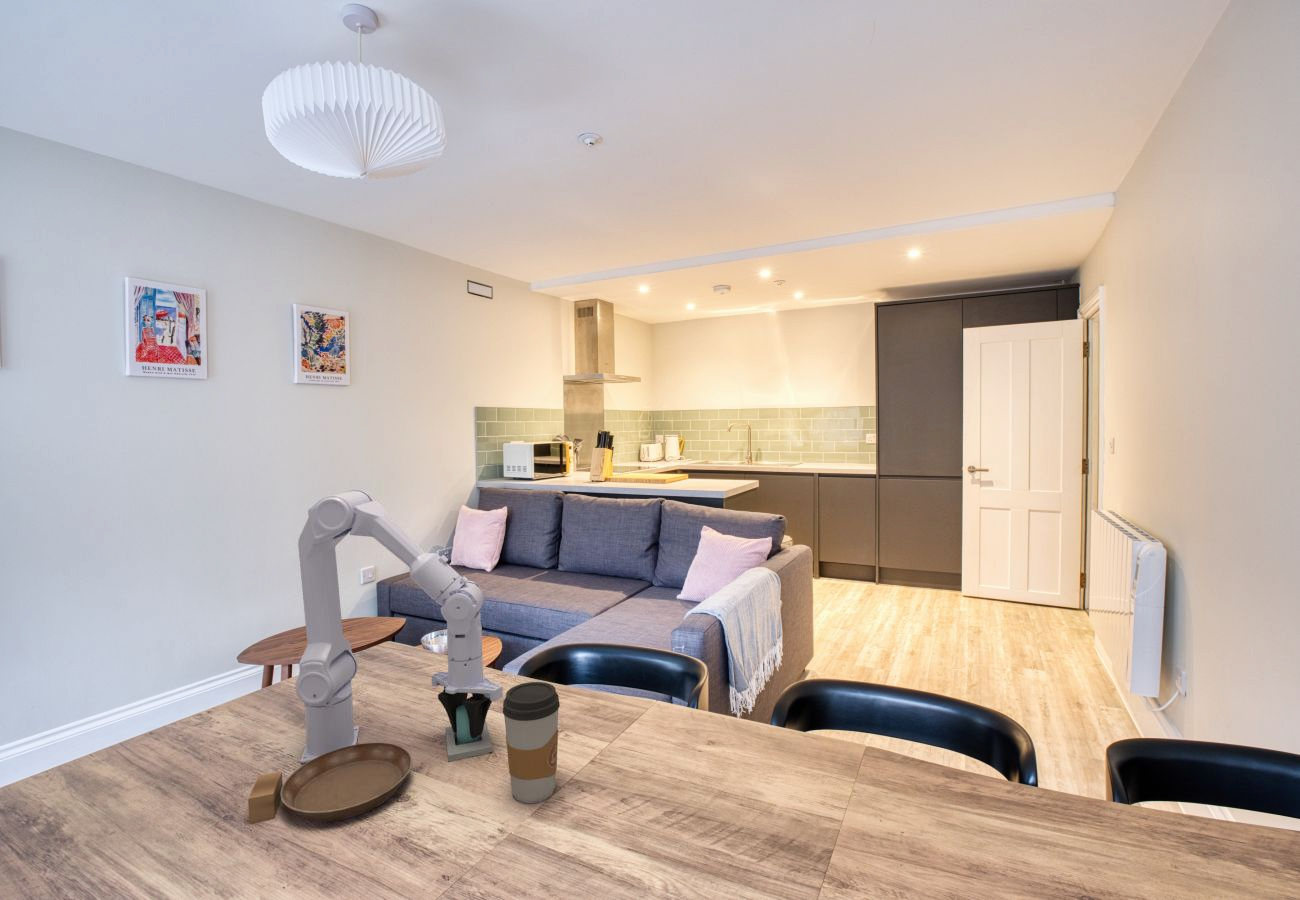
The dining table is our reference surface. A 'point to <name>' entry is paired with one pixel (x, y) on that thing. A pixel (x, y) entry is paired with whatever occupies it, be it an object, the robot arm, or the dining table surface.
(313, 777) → the plant saucer
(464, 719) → the dowel
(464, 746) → the socket block
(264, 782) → the stop block
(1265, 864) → the dining table surface
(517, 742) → the coffee cup
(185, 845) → the dining table surface
